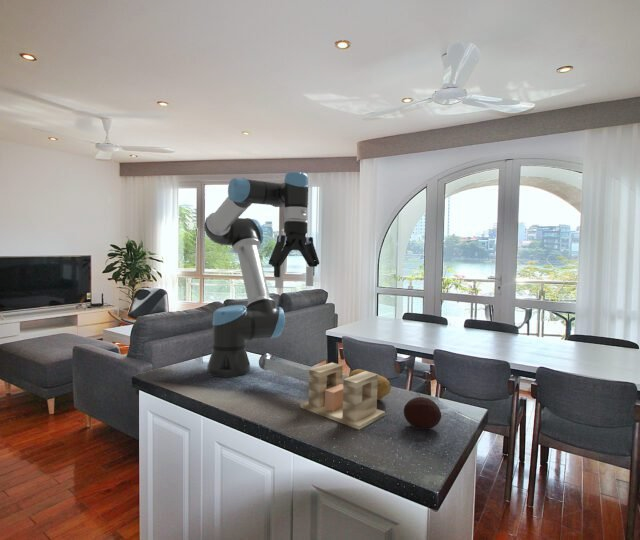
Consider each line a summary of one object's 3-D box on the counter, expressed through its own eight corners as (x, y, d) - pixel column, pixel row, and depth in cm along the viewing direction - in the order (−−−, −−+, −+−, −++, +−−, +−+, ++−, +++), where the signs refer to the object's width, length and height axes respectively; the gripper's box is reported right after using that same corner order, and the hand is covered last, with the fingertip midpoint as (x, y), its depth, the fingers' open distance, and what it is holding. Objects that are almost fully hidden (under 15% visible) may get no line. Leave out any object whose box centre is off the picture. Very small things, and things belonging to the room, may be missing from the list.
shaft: (258, 370, 126) (258, 354, 126) (270, 367, 130) (270, 352, 130) (319, 390, 109) (319, 372, 109) (331, 386, 113) (331, 368, 113)
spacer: (325, 390, 106) (333, 392, 105) (340, 383, 112) (349, 386, 110) (324, 407, 107) (333, 411, 105) (340, 401, 112) (348, 403, 110)
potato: (378, 410, 109) (378, 381, 108) (341, 396, 119) (341, 370, 119) (398, 401, 116) (399, 374, 115) (361, 388, 126) (362, 364, 125)
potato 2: (402, 419, 103) (403, 390, 102) (439, 423, 101) (440, 393, 101) (403, 433, 95) (404, 402, 95) (442, 437, 93) (444, 405, 93)
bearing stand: (300, 407, 109) (301, 368, 109) (328, 396, 118) (329, 360, 118) (359, 429, 96) (360, 385, 96) (384, 415, 105) (386, 375, 105)
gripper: (273, 217, 114) (272, 289, 115) (330, 223, 132) (329, 285, 133) (257, 218, 119) (256, 287, 120) (314, 224, 137) (313, 284, 138)
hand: (294, 287), depth 127 cm, fingers open, 13 cm apart
